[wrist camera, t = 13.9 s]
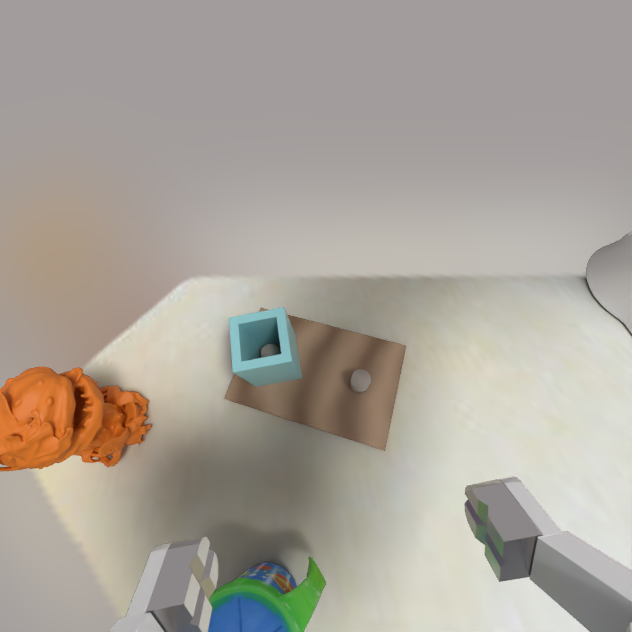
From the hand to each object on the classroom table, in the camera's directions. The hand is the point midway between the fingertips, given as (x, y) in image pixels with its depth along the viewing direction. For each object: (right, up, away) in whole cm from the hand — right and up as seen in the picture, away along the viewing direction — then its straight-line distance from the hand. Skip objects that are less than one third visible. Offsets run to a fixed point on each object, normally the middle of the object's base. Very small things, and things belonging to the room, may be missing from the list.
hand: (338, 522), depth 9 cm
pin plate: (-1, -2, +33) cm, 33 cm away
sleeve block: (-6, 0, +33) cm, 33 cm away
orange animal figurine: (-28, -9, +33) cm, 44 cm away
